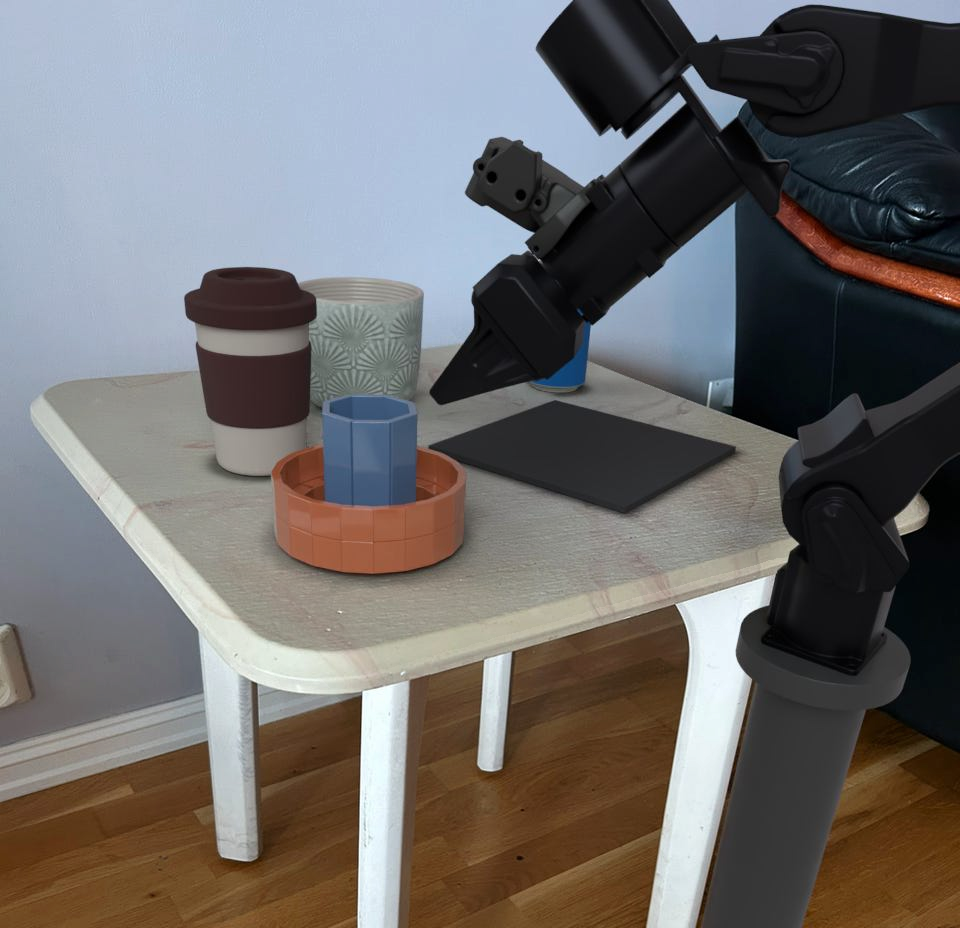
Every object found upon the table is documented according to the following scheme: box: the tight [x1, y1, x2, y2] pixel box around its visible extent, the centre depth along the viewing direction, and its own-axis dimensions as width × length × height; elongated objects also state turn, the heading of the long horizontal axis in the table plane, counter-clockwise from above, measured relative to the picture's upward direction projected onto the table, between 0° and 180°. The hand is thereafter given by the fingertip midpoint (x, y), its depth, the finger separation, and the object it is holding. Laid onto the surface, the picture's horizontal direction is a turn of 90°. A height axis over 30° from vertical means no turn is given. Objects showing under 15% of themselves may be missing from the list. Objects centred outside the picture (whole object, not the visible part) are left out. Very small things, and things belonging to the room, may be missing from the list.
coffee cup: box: [183, 266, 317, 477], centre depth 78 cm, size 10×10×15 cm
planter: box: [297, 276, 425, 409], centre depth 95 cm, size 12×12×11 cm
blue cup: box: [321, 394, 418, 506], centre depth 67 cm, size 6×6×9 cm
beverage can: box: [528, 309, 592, 394], centre depth 104 cm, size 6×6×12 cm
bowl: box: [270, 444, 467, 575], centre depth 69 cm, size 13×13×5 cm
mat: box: [427, 399, 737, 514], centre depth 88 cm, size 20×20×1 cm
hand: (454, 379), depth 63 cm, fingers open, 9 cm apart
